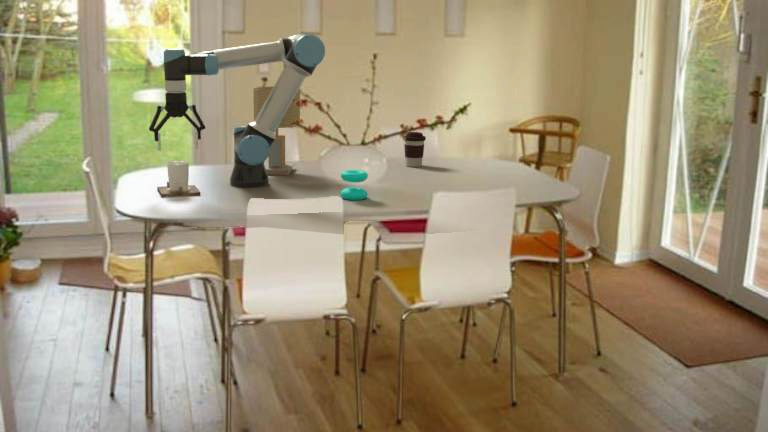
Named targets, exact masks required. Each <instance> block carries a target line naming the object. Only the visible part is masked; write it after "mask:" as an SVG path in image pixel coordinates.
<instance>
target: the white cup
mask: <svg viewBox="0 0 768 432" xmlns="http://www.w3.org/2000/svg"><path fill="white" fill-rule="evenodd" d="M166 165H167V177H168V182H169V188H170V190H176V191H179V187H183V190H186V189H188V185H189V174H190V173H189V171H190V170H189V168H190V163H189V161H185V160H171V161H167V163H166Z"/></svg>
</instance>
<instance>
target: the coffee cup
mask: <svg viewBox="0 0 768 432" xmlns="http://www.w3.org/2000/svg"><path fill="white" fill-rule="evenodd" d="M404 136H405V137H406V140H404V144H403V145H404V157H405V166H406V167H409V168H419V167H422V165H423V158H424V151H425V141H426V136H425V135H424V134H423V132H420V131H408V132H407V133H406V135H404Z"/></svg>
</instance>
